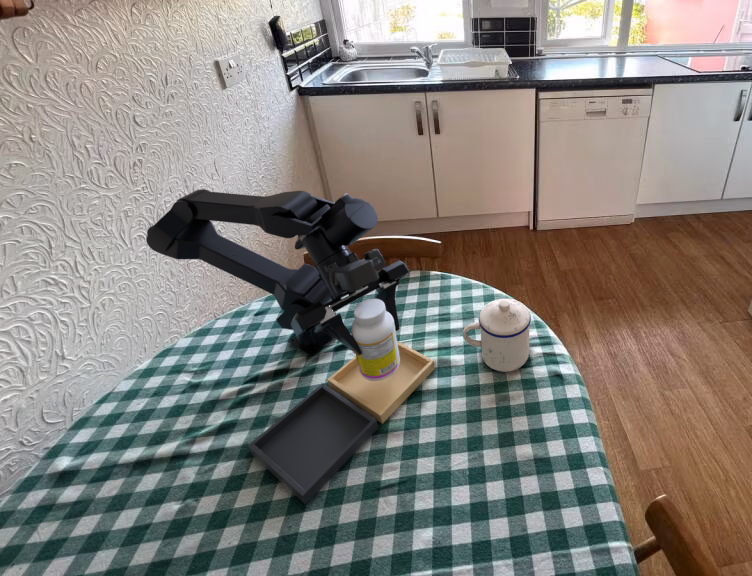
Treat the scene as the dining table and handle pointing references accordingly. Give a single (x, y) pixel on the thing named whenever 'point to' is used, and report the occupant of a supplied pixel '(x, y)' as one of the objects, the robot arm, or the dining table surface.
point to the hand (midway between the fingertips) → (379, 342)
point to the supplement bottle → (375, 340)
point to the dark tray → (313, 441)
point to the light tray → (382, 383)
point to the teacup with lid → (502, 334)
